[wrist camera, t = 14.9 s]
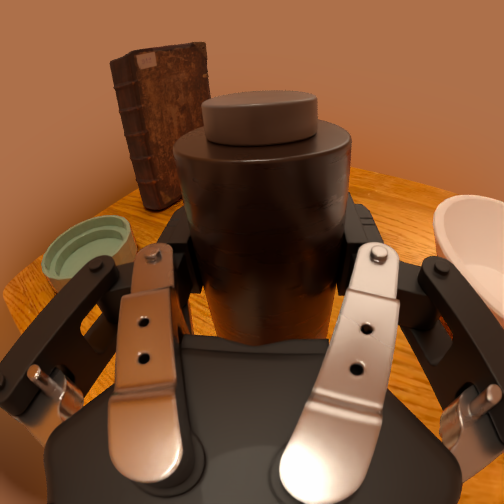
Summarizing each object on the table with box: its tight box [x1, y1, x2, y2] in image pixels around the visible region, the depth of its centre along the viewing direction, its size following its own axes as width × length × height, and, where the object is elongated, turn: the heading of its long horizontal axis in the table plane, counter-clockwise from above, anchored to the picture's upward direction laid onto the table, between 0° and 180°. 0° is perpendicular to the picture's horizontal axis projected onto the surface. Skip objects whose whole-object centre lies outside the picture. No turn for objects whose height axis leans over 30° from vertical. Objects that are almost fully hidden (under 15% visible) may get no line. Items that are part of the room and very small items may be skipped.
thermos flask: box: [173, 91, 352, 346], centre depth 11 cm, size 5×5×13 cm
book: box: [110, 42, 211, 210], centre depth 41 cm, size 17×7×25 cm, turn 144°
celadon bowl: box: [41, 215, 137, 293], centre depth 32 cm, size 13×13×4 cm
